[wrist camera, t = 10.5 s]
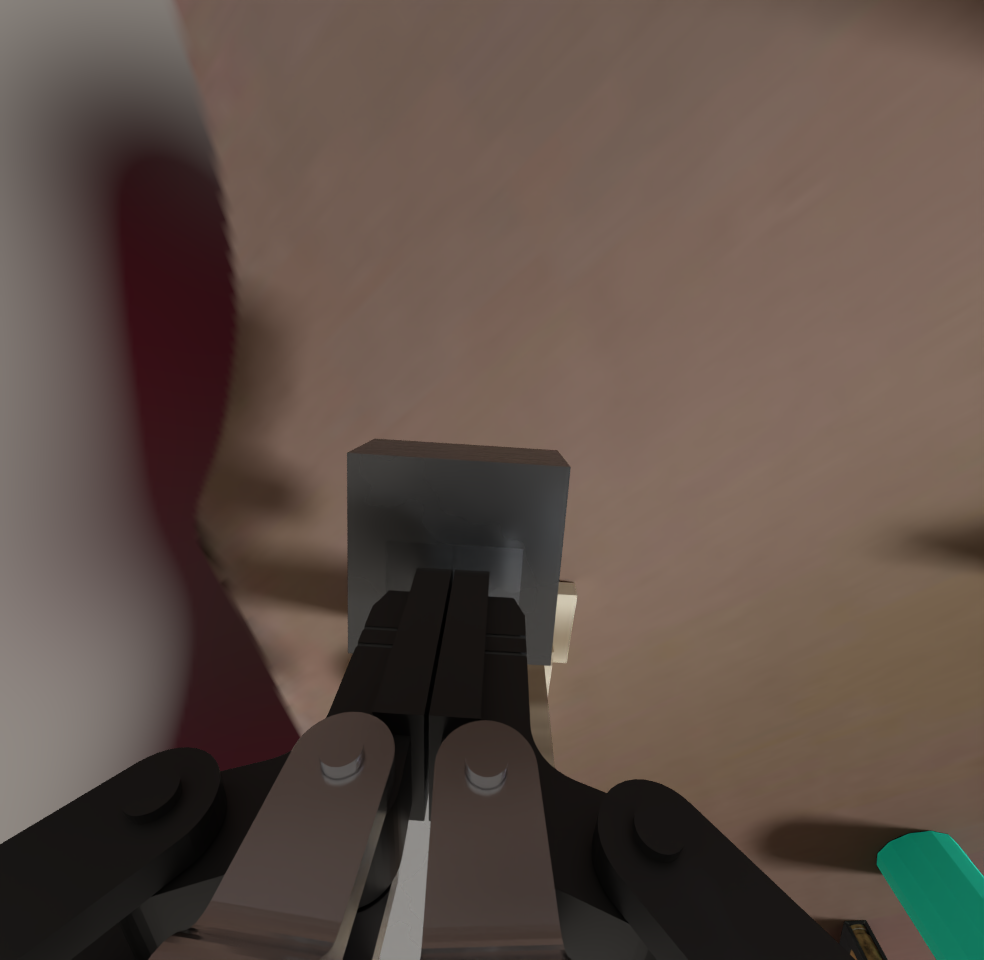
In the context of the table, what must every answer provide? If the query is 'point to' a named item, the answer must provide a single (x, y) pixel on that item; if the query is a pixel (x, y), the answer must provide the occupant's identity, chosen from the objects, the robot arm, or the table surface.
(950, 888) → the candle
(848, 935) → the ammunition clip
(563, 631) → the press stand
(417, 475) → the lever
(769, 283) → the table surface
